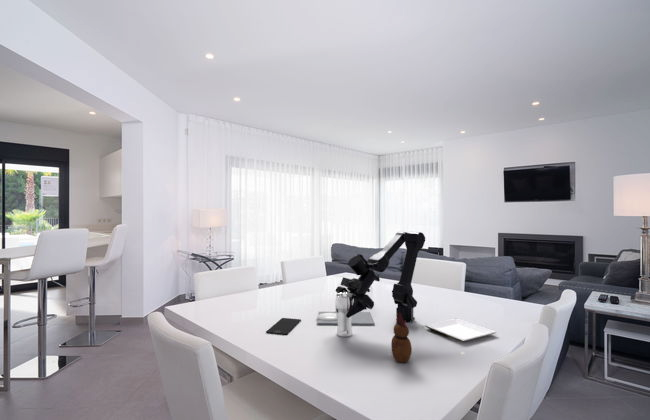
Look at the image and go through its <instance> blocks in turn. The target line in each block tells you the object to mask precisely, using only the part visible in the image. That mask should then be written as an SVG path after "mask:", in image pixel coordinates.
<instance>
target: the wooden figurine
mask: <svg viewBox="0 0 650 420" xmlns="http://www.w3.org/2000/svg"><path fill="white" fill-rule="evenodd" d="M396 318H397V320H396V324H394V327H393V334H394V335H393V337H392V338H391V343H390V344H391V353H392V357H393V359H394V361H396V362H399V363H400V364H401V363H403V364H404V363H407V362H409V361H410V359H411V356H412V350H413V349H412V343H411V340H410V338H409V337H408V336H409V333H410V331H409V326H408V325H407V324H406V321H404V320H403V318H401V314H400V317H399V314H398V311H397V317H396Z"/></svg>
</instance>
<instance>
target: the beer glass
mask: <svg viewBox="0 0 650 420" xmlns="http://www.w3.org/2000/svg"><path fill="white" fill-rule="evenodd" d="M353 303H354V299H353V295H352V294H350V293H339V294H338V293H336V295H335V312H336V315H337V321H338V325H337V329H336V335H337V336H339V337H341V338H348V337H352V335H353V328H352V325H351V323H352V316H351V317H349V318H347V317H346V315H347V313H348V312H349V310H350V308H351V307H352V305H353Z"/></svg>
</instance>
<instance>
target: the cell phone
mask: <svg viewBox="0 0 650 420" xmlns="http://www.w3.org/2000/svg"><path fill="white" fill-rule="evenodd" d="M300 322H302V320H301V318H288V317H281V318H280V319H279V320H278V321H277V322H276V323H274V324H273V325H272V326H271V327H270V328H269V329H267V330H266V331H265V334H269V335H270V334H271V335H278V336H279V335H280V336H288V335H289V334H290V333H291V332H292V331H293V330H294V329H295V328H296V327H297V326H298V325H299V324H300Z"/></svg>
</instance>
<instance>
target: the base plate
mask: <svg viewBox="0 0 650 420" xmlns="http://www.w3.org/2000/svg"><path fill="white" fill-rule="evenodd" d="M316 317H317V321H316V322H317V323H316V326H338V321H337V315H336V311H318V314H317V316H316ZM351 326H376V325H375V321H374V318H373V316H372V314H371V312H370V311H360V312H358V313H356V314H355V315H353V316H352V323H351Z"/></svg>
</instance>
